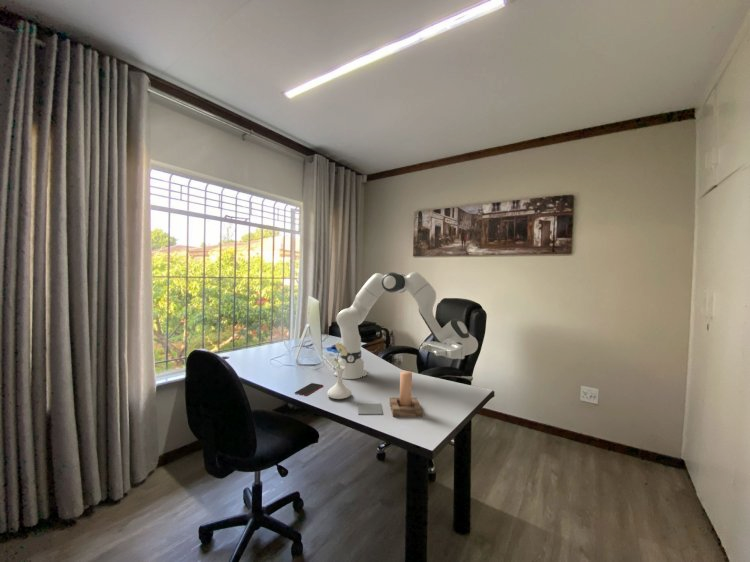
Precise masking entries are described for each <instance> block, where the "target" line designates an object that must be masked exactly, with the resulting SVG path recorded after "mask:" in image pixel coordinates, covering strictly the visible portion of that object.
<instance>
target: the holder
mask: <svg viewBox="0 0 750 562" xmlns="http://www.w3.org/2000/svg"><path fill="white" fill-rule="evenodd" d="M399 404H400V397H389V407H391V408H390V411H391V415H392V417H393V418H402V417H404V418H405V417H406V418H408V417H411V418H413V417H414V418H415V417H419V416H420V417H423V408H422V405H421V403H420V401H419V400H418V397H411V406H408V407H399Z"/></svg>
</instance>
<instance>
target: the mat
mask: <svg viewBox="0 0 750 562" xmlns="http://www.w3.org/2000/svg"><path fill="white" fill-rule="evenodd" d="M357 404H358V407H357V409H358V410H357V411H358V413H357V414H358V416H361V415H362V416H368V415H369V416H373V415H374V414H381V416H382V415H383V414H384V412H383V408H382V403H357ZM370 414H371V415H370Z"/></svg>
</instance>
